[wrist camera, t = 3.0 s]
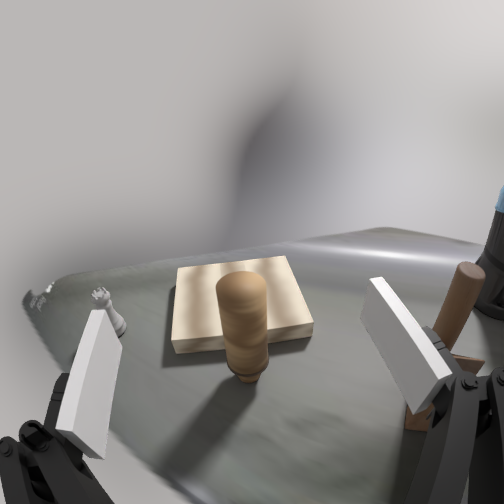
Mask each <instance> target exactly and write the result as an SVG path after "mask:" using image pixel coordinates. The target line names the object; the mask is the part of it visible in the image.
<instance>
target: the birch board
mask: <svg viewBox="0 0 504 504" xmlns="http://www.w3.org/2000/svg"><path fill="white" fill-rule="evenodd" d="M237 271H249V272H254V273H256V274H259V275H260V276H262V277H263V278H264V280H265V281H266V289H267V333H268V343H275V342H281V341H287V340H294V339H299V338H305V337H311V336H312V332H313V324H314V321H313V319H312V317H311V314H310V312H309V310H308V307H307V305H306V303H305V300H304V298H303V296H302V293H301V291H300V289H299V287H298V284H297V282H296V280H295V277H294V275H293V273H292V271H291V268H290V266H289V264H288V262H287V259H286V257H285V256H278V257H270V258H262V259H253V260H245V261H236V262H227V263H219V264H210V265H201V266H192V267H183V268H178V274H177V283H176V293H175V303H174V313H173V325H172V337H171V341H172V344H173V347H174V349H175V352H176V354H180V353H192V352H203V351H213V350H222V349H225V344H224V338H223V332H222V326H221V320H220V314H219V308H218V301H217V295H216V284H217V282H218V281H219V279H221V278H222V277H223V276H225V275H227V274H229V273H232V272H237Z"/></svg>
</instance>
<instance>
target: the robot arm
mask: <svg viewBox="0 0 504 504" xmlns="http://www.w3.org/2000/svg"><path fill="white" fill-rule="evenodd" d="M495 209H496V211H495V215H494V219H493V222H492V226H491V229H490V232H489V235H488V239H487V242H486V245H485V248H484V251H483V253H482V254H481V256H480V257H479V258H478V260H477V261H476V262H475V264H476V265H478V266H479V267H481V268H482V269H483V271H484V272H485V276H486V278H485V281H484V283H483V286H482V288H481V291H480V293H479V295H478V298H477V300H476V302H475V304H474V306H475V307H476V308H478V309H479V310H480V311H482V312H483V313H485V314H486V315H488V316H490V317H493V318H495V319H499V320H504V186H503V187H502V189H501V191H500V195H499V198H498V202H497V204H496V206H495ZM360 319H361V321H362V323H363V324H364V326H365V328H366V330H367V331H368V333H369V335H370V336H371V338H372V340H373V342H374V343H375V345H376V347H377V349H378V350H379V352H380V354H381V356H382V358H383V359H384V361H385V363H386V365H387V367H388V368H389V370H390V372H391V374H392V376H393V378H394V379H395V381H396V383H397V385H398V387H399V389H400V391H401V393H402V394H403V396H404V398H405V400H406V402H407V404H408V406H409V408H410V410H411V412H412V414H413V415H414V414H416V413H419V412H421V411H423V410H426V409H427V408H428V406H429V405H430V404H431V402H432V403H433V405H434V408H433V409H432V410H431V412H430V413H429V414H428V415H427V417H426V419H425V420H428V419H429V418H430V416H431V418H430V422H429V427H428V430H427V434H426V438H425V442H424V445H423V449H422V452H421V456H420V459H419V462H418V465H417V468H416V471H415V474H414V477H413V480H412V483H411V485H410V488H409V491H408V493H407V496H406V498H405V501H404V503H403V504H460V503H461V499H462V496H463V492H464V489H465V485H466V481H467V477H468V472H469V489H468V504H504V368H496V369H495V370H493V372H492V373H491V374H490V375H489V376H481V377H477V376H476V375H474V374H473V373H471V372H467V371H463V370H462V369H461V367H460V366H459V364H458V363H457V361H456V360H455V358H454V357H453V356H452V354H451V353H450V351H449V350H448V349H447V348H446V346H445V344H444V343H443V342H442V341H441V339H440V337H439V336H438V335H437V333H436V332H435V331H433V330H432V329H431V328H429V327H428V326H426V327H423V328H421V327H420V326H419V324H418V323H417V322H416V320H415V319H414V318H413V316H412V315H411V314H410V312H409V311H408V310H407V308H406V307H405V306H404V304H403V303H402V302H401V300H400V299H399V298H398V296H397V295H396V294H395V293H394V291H393V290H392V289H391V287H390V286H389V285H388V284H387V282H386V281H385V280H384V279H383V277H378V278H372V279H369V284H368V288H367V292H366V297H365V301H364V305H363V309H362V313H361V317H360ZM122 348H123V347H122V345H121V343H120V341H119V339H118V337H117V335H116V333H115V330H114V328H113V326H112V324H111V321H110V319H109V317H108V315H107V312H106V310H105V309H103V310H92V311H91V314H90V316H89V319H88V322H87V324H86V327H85V330H84V333H83V336H82V338H81V341H80V344H79V347H78V350H77V353H76V356H75V359H74V362H73V365H72V369H71V372H70V373H62V374H61V375H60V377H59V378H58V379H57V381H56V383H55V386H54V389H53V394H52V396H51V401H50V403H49V406H48V410H47V414H46V417H45V421H44V425H42V424H40V422H38V421H36V420H29V421H27V422H25V423H24V424H23V425H22V427H21V428H20V430H19V440H20V442H17V441H16V440H14V439H13V438H11V437H9V436H7V437H3V438H1V440H0V477H1V482H2V488H3V492H4V497H5V501H6V504H114V502H113V501H112V500H111V499H110V497H109V496H108V494H107V493H106V492H105V490H104V489H103V488H102V486H101V485H100V484H99V482H98V481H97V479H96V478H95V476H94V475H93V473H92V472H91V471H90V469H89V467H88V466H87V464H86V463H85V461H84V460H83V459H82V455H83V453H84V454H85V455H86V456H88V457H89V458H95V459H103V460H104V459H105V451H106V443H107V435H108V427H109V420H110V413H111V406H112V400H113V394H114V388H115V383H116V377H117V372H118V367H119V362H120V357H121V352H122Z"/></svg>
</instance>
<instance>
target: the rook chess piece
mask: <svg viewBox="0 0 504 504" xmlns="http://www.w3.org/2000/svg"><path fill="white" fill-rule="evenodd" d="M97 290H98V291H97V292H96V291H95V290H94V291H93V294H91V296H92V299H91V302H92V303H93V304H95V305H96V309H97V310H103V309H105V310H106V312H107V315H108V317H109V319H110V321H111V324H112V326H113V328H114V330H115V333H116V335H117V337H119V336H120V335H122V334H123V333H124V331H125V328H126V322H125V321H124V319H123V318H122V317H121V316H120V315H119V314H118V313H116V312H115V310H114V309H113V307H112V301H111V300H109V298H110V293H109V292H108V291H106V289H105V288H103V287H102V290H100V288H97Z"/></svg>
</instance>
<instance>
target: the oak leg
mask: <svg viewBox="0 0 504 504" xmlns="http://www.w3.org/2000/svg"><path fill="white" fill-rule="evenodd" d="M216 295H217V301H218V308H219V314H220V320H221V326H222V332H223V338H224V344H225V349H226V355H227V365H228V367H229V369H230V370H231V371H232V372H233V373H234V374H236V375H237V376H238V377H239V379H240V380H241V381H243V382H245V383H253V382H255V381H257V380H258V379H259V377H260V375H261V373H262V372H263V371H264V370H265V369H266V368H267V366H268V363H269V356H268V333H267V289H266V281H265V280H264V278H263V277H262V276H260V275H259V274H256V273H254V272H249V271H237V272H232V273H229V274H227V275H225V276H223V277H222V278H221V279H219V281H218V282H217V284H216Z"/></svg>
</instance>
